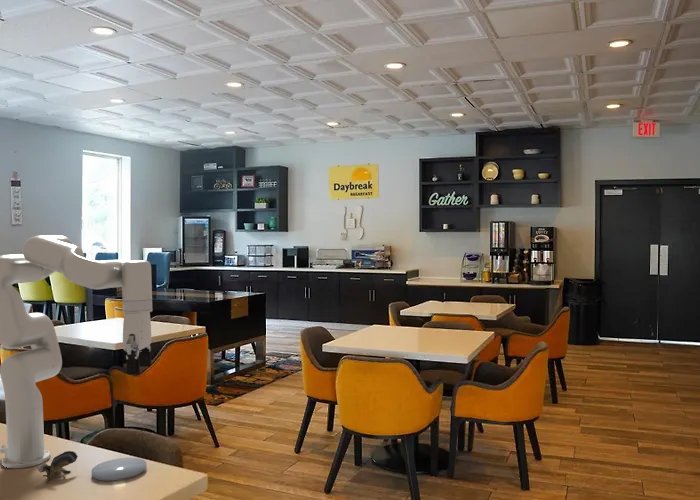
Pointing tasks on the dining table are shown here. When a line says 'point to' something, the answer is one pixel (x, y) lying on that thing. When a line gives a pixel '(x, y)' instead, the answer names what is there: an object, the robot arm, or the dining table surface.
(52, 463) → the eagle figurine
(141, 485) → the dining table surface
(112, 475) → the smooth grey pebble
